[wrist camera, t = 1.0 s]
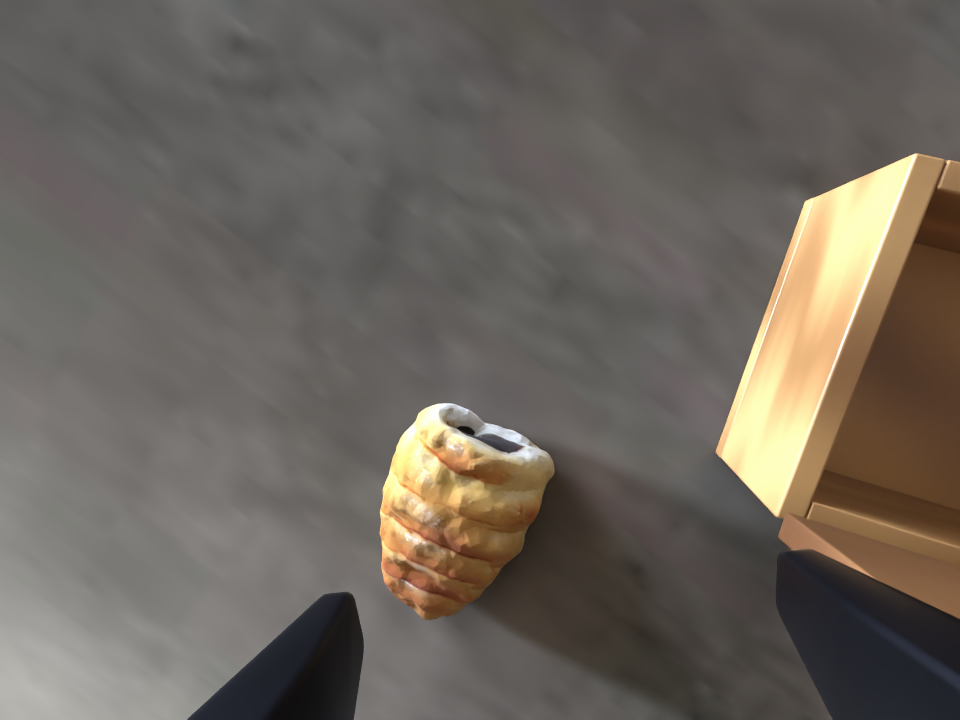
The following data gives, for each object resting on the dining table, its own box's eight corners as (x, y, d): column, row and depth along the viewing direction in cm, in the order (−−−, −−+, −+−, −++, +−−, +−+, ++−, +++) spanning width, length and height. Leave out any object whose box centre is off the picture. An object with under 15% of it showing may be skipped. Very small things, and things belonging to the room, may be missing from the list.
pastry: (487, 622, 25) (471, 679, 21) (361, 561, 26) (323, 604, 22) (563, 445, 23) (560, 472, 19) (426, 386, 24) (397, 401, 20)
